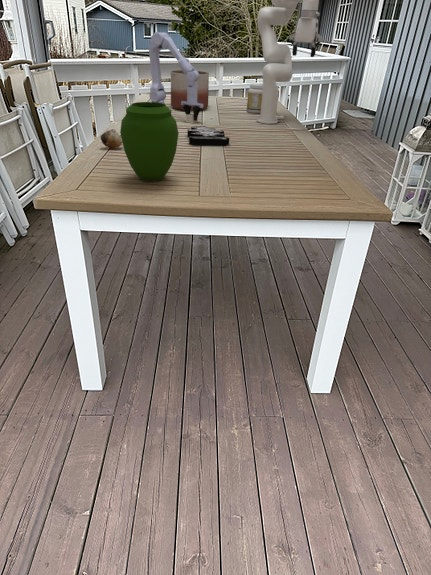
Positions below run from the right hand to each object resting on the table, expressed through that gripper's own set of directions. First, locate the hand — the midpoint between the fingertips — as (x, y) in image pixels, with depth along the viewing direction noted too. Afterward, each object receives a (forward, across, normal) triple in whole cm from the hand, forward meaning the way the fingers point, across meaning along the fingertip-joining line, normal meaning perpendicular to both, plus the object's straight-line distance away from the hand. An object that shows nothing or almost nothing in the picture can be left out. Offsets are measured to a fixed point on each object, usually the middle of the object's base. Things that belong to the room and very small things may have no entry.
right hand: (303, 56), depth 205 cm
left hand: (+36, +57, +17) cm, 69 cm away
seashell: (+37, +44, +91) cm, 108 cm away
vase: (+37, +2, +111) cm, 117 cm away
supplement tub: (+37, +49, -45) cm, 76 cm away
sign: (+37, +26, +45) cm, 64 cm away
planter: (+37, +87, -20) cm, 97 cm away
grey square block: (+37, +57, +17) cm, 70 cm away
